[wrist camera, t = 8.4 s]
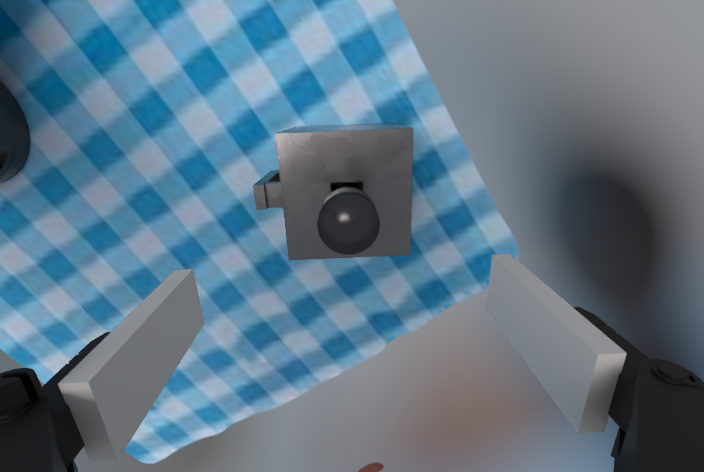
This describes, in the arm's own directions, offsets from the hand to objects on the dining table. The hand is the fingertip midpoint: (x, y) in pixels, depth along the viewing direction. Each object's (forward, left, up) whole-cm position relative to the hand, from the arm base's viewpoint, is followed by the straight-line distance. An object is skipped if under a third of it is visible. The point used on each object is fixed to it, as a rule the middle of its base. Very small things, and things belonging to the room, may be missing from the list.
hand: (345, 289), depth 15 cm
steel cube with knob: (-1, 0, -31) cm, 32 cm away
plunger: (0, 0, -29) cm, 29 cm away
